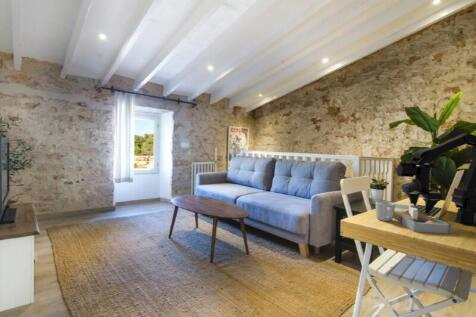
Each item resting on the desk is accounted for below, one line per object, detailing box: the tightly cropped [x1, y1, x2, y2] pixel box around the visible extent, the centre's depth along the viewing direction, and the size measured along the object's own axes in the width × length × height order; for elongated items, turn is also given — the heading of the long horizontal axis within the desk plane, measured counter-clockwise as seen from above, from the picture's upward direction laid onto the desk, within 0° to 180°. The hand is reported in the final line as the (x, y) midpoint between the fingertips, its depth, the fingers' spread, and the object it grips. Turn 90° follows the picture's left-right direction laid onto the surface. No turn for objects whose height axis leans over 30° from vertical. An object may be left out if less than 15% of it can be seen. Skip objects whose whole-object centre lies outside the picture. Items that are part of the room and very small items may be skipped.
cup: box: [375, 200, 397, 222], centre depth 117 cm, size 11×8×8 cm
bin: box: [401, 217, 452, 234], centre depth 108 cm, size 14×8×4 cm, turn 87°
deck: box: [393, 210, 433, 224], centre depth 118 cm, size 14×13×3 cm
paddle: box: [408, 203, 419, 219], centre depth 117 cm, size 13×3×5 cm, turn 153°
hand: (420, 210), depth 120 cm, fingers open, 9 cm apart
